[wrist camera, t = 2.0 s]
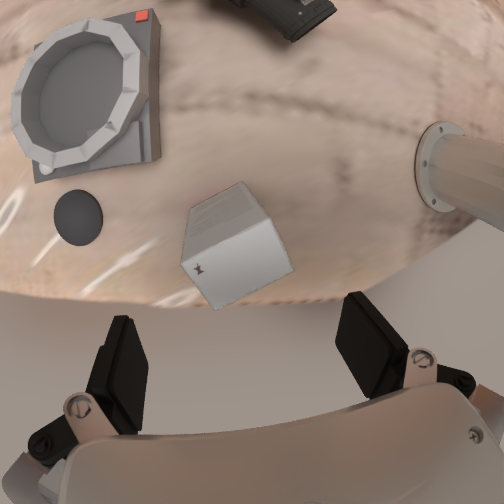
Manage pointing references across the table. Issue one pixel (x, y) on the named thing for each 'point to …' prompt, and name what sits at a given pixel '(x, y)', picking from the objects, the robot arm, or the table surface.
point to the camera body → (91, 97)
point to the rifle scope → (290, 14)
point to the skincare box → (232, 247)
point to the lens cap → (78, 217)
